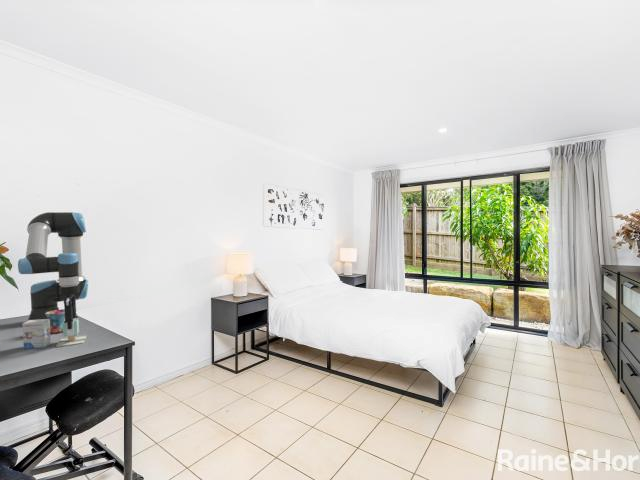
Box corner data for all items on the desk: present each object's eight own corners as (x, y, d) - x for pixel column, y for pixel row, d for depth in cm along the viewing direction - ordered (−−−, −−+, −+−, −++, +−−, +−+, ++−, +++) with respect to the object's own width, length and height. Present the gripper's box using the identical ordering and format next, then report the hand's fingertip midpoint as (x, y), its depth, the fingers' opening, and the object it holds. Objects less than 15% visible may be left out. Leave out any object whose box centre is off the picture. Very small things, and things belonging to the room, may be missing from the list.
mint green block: (79, 331, 154) (78, 318, 153) (77, 334, 149) (76, 321, 149) (65, 333, 151) (65, 320, 151) (63, 336, 147) (62, 322, 146)
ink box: (22, 349, 141) (21, 323, 141) (29, 345, 146) (28, 320, 146) (45, 347, 144) (44, 321, 143) (51, 343, 149) (50, 318, 148)
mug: (45, 335, 159) (44, 315, 159) (46, 331, 166) (45, 311, 166) (75, 330, 167) (74, 310, 166) (75, 326, 174) (74, 307, 173)
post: (61, 339, 153) (60, 325, 153) (86, 335, 158) (86, 322, 158) (55, 347, 143) (54, 332, 142) (83, 343, 148) (82, 328, 147)
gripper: (63, 283, 155) (65, 329, 156) (54, 289, 140) (57, 341, 140) (82, 282, 159) (84, 327, 160) (75, 287, 143) (78, 337, 144)
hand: (71, 333), depth 150 cm, fingers closed on mint green block, 5 cm apart
